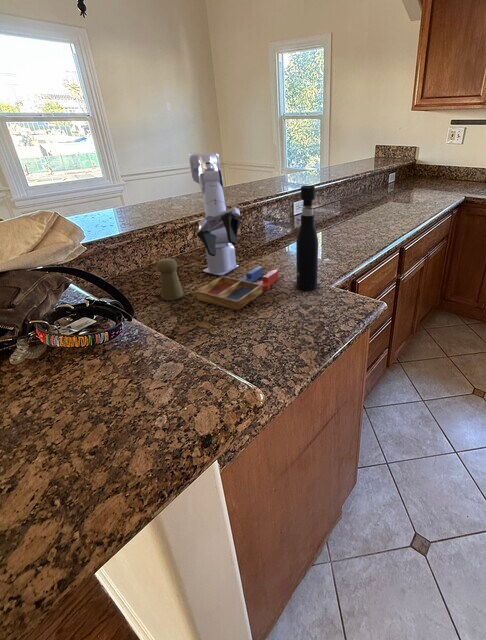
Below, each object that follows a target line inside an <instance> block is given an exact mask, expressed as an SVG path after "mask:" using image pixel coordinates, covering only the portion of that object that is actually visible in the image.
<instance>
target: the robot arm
mask: <svg viewBox="0 0 486 640" xmlns="http://www.w3.org/2000/svg"><path fill="white" fill-rule="evenodd" d="M188 160H189V169H190V172H191V178H192V179H193V182H195V183H196V184H198V185H199V188H200V192H201V195H202V201H203V207H204V212H205V216H204V218H202V219H201V220H200V221H199V223H198V227H199V228H198V229H197V230H196V236H197V237H198V238H199V240H200V244H201V245H202V246H204V247H205V252H206V253H205V254H206V262H207V267H206V268H204V269H203V270H202V272H203V273H207V274H211V275H216V276H220V277H222V276H225V275H226V274H228V273H230V272H231V271H233V270H235V269H236V268H238V267H239V264H237V261H236V249H235V247H234V246H235V245H236V244H237V239H238V231H239V228H240V226H241V224H242V220H241V219H240V218H238V217H240V216H241V212H240V209H239V208H237V207H236V206H233V207H232V208H229V209H227V206H226V200H225V194H224V178H223V173H222V170H221V165H220V158H219V154H218V153H217V152H213V153H212V152H211V153H191V152H190V153H189V154H188Z"/></svg>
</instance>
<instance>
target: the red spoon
mask: <svg viewBox="0 0 486 640" xmlns="http://www.w3.org/2000/svg"><path fill="white" fill-rule="evenodd" d="M278 280H279V270H278V269H272V270H270V271H269V272H267V273H266V274H264V275H262V280H259V281H256V282H255V283H257V284H261V285H262V292H266V291H269V290H270V289H271V285H272V284H273V283H275V282H276V281H278Z"/></svg>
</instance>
